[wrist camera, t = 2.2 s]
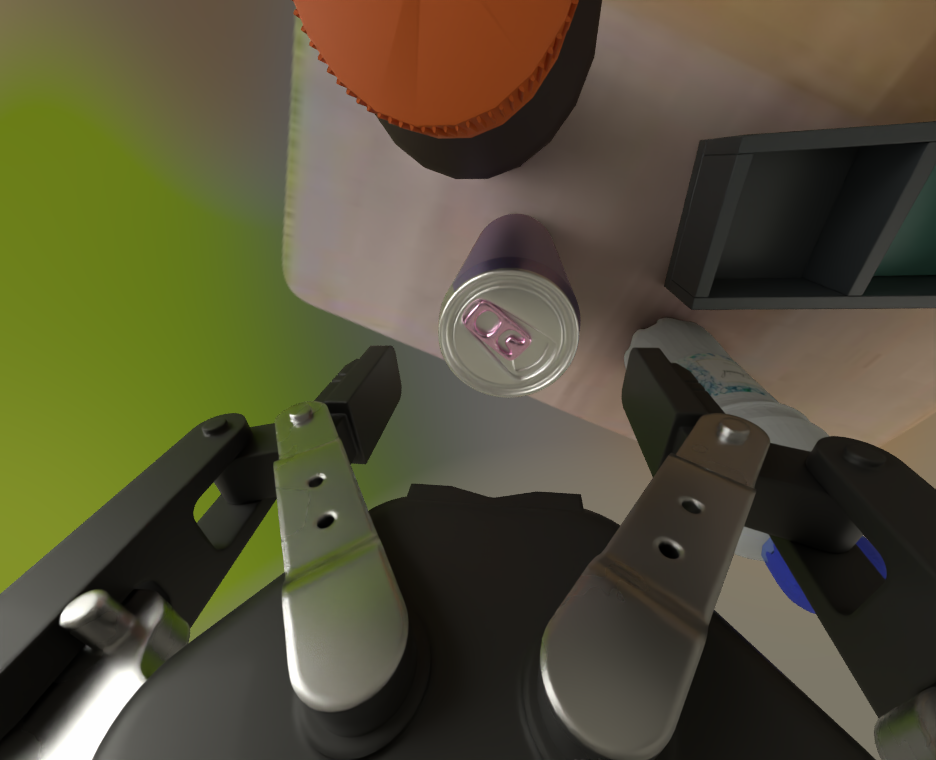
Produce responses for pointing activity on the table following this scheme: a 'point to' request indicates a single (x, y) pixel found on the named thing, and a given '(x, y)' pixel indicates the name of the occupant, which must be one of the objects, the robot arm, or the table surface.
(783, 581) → the bottle
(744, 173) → the divided tray
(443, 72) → the vinegar
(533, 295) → the beverage can
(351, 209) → the table surface
